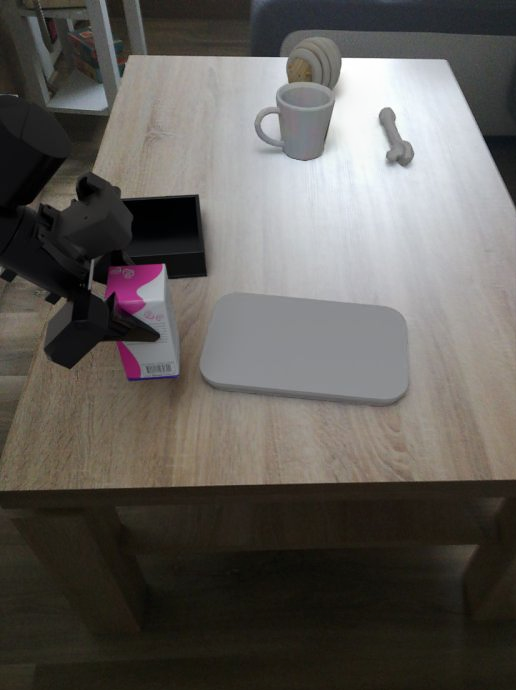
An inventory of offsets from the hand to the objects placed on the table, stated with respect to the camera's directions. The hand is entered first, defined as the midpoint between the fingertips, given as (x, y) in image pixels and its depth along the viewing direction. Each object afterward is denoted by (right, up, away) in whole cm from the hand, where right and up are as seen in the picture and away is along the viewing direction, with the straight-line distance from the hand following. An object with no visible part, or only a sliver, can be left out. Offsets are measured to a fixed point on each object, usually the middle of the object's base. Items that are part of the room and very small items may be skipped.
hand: (158, 317), depth 58 cm
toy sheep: (+18, +55, +60) cm, 83 cm away
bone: (+33, +41, +49) cm, 72 cm away
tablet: (+16, -3, +16) cm, 22 cm away
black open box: (-7, +15, +27) cm, 32 cm away
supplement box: (-2, -4, +5) cm, 7 cm away
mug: (+13, +38, +46) cm, 61 cm away
